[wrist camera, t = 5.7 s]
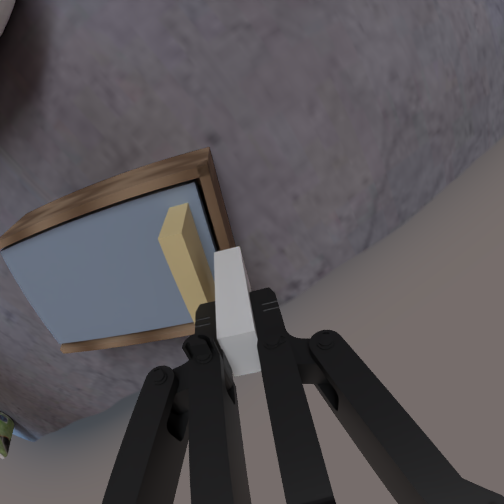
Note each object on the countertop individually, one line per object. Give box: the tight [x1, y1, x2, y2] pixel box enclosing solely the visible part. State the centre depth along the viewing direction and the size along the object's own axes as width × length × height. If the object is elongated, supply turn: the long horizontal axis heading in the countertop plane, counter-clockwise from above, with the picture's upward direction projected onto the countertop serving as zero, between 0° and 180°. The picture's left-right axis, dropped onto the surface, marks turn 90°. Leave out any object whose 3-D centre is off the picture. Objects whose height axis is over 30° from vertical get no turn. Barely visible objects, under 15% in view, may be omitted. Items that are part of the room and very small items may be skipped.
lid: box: [0, 179, 218, 344], centre depth 18 cm, size 17×10×5 cm, turn 102°
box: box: [0, 147, 236, 354], centre depth 21 cm, size 18×12×6 cm, turn 102°
